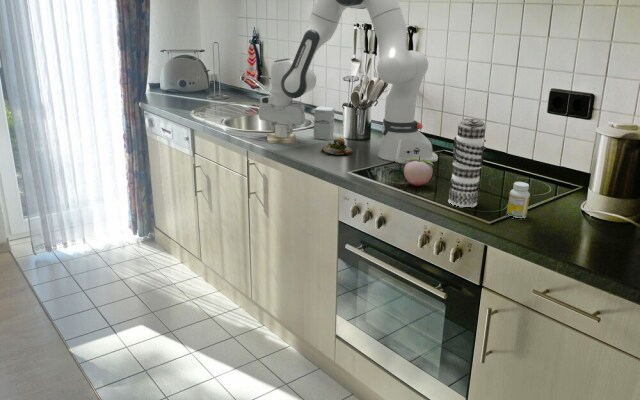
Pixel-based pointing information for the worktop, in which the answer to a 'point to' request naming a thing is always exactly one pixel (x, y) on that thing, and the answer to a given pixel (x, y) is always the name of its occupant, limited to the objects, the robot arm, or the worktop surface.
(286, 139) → the stud board
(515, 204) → the supplement bottle
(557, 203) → the worktop surface
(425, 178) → the decorative fruit
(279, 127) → the cap
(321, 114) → the supplement box
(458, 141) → the decorative candle
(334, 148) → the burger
